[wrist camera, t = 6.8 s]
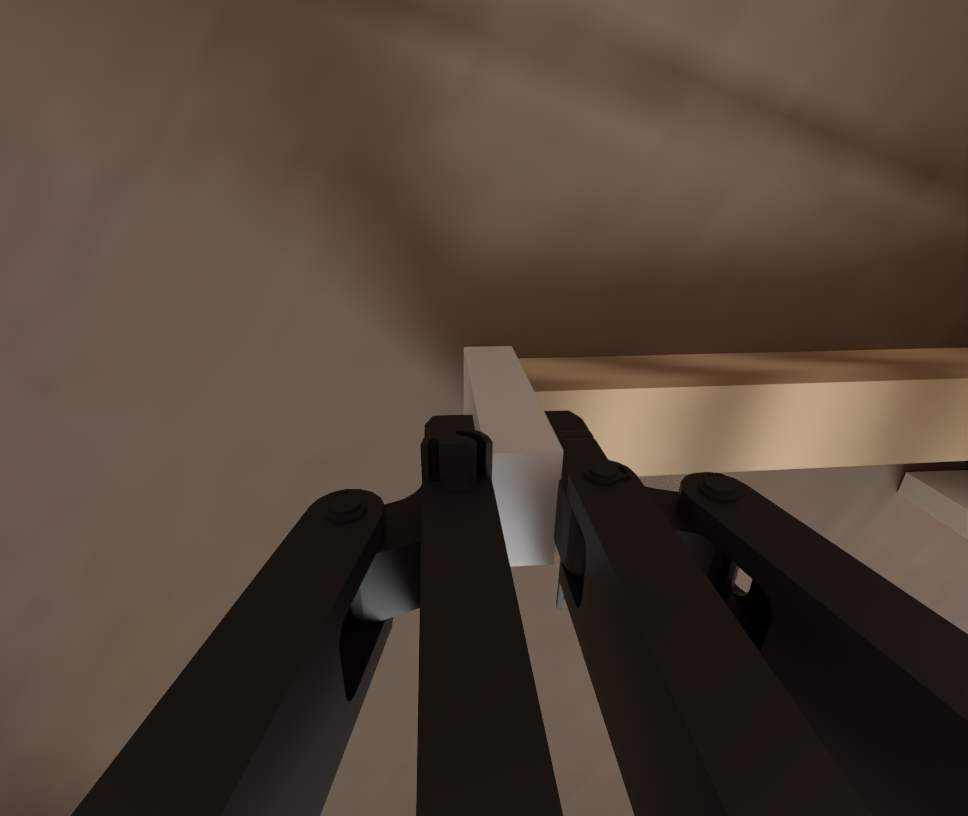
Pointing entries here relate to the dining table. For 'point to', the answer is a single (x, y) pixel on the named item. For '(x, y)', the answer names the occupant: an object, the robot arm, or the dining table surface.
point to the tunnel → (940, 496)
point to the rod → (764, 407)
